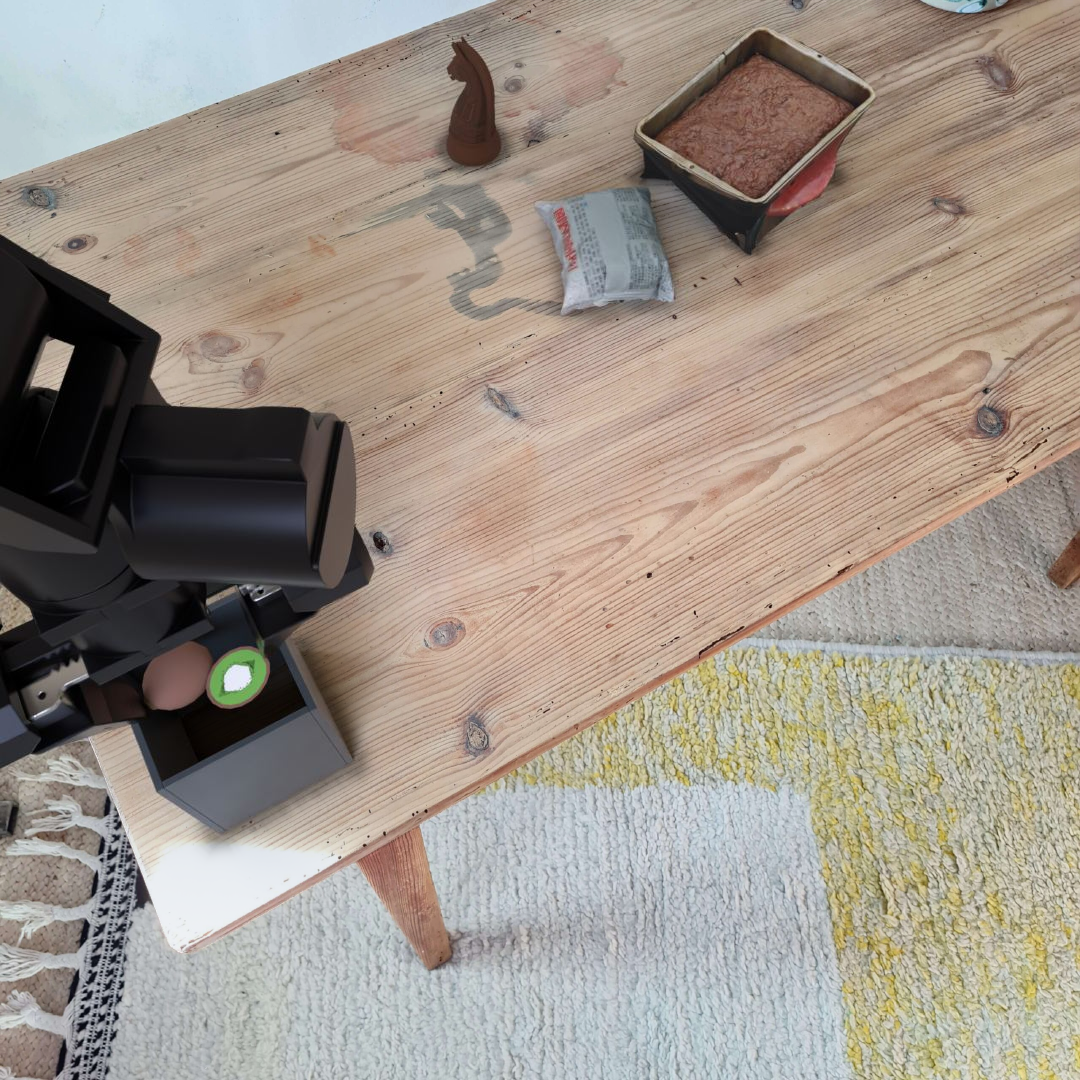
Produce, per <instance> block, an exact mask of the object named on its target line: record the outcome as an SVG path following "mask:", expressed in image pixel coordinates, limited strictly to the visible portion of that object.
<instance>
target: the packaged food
mask: <svg viewBox="0 0 1080 1080" xmlns="http://www.w3.org/2000/svg"><path fill="white" fill-rule="evenodd" d="M651 203H652V194H651V190H650V188H649V187H648V186H631V187H618V188H615V187H611V188H610V187H609V188H605V189H601V190H597V191H590V192H587V193H582V194H579V195H574V196H571V197H566V198H563V199H560V200H558V201H557V200H537V201H535V203H534V207H533V209H534V211H535V212H536V213H537V214H538V216H539V217H540V218H541V219H542V221H543V222H544V223H545V224H546V227H547V228H548V229H549V231H550V235H551V237H552V241H553V246H554V249H555V253H556V257H557V258H558V260H559V263H560V265H561V266H562V269H561V272H560V278H561V284H562V289H563V301H562V307H561V311H560V316H565V315H567V314H568V313H570V312H571V311H573V310H579V311H581V310H584V309H587V308H592V307H593V308H594V307H598V308H600V307H604V306H607V305H608V304H613V303H618V304H619V303H622V304H623V303H625V302H630V301H634V300H642V301H648V300H655V302H658V301H661V302H668V303H669V304H670V303H671V302H674V301H675V300H676V289H675V284H674V280H673V275H672V272H671V268H670V265H669V260H668V258H667V254H666V251H665V248H664V245H663V242H662V239H661V236H660V233H659V231H658V230H659V229H658V224H657V221H656V218H655V215H654V213H653V210H652V208H651V205H652V204H651Z"/></svg>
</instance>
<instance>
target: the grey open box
mask: <svg viewBox="0 0 1080 1080" xmlns="http://www.w3.org/2000/svg"><path fill="white" fill-rule="evenodd" d="M207 605H208V607H209V609H210V612H211V615H210V620H211V622H212V624H213V626H214V628H215V629H213V630H211V631H209V632H207V633H205V634H203V635H201V636H199V637H197V638H195V639H193V640H191V641H189V642H195V643H197V644H200V645H202V646H204V647H206V648H207V649H208V651H209V653H210V655H211V656H212V658H213V660H214V664H215V663H216V662H217V661H218V660H219V659H220V658H221V657H222V656H223V655H225V654H226V653H228V652H229V651H231V650H234V649H236V648H239V647H246V646H251V647H254V648H256V649H259V648H258V646H257V644H256V642H255V640H254V638H253V635H252V633H251V631H250V629H249V627H248V624H247V621H246V619H245V616H244V613H243V610H242V608H241V605H240V602H239V599H238V596H237V594H236V591H234V592H231V593H230V594H228V595H226V596H224V597H222V598H219V599H217V600H216V601H213V602H211V603H209V604H207ZM152 660H153V659H152ZM152 660H150V661H148V662H146V663H144V664H142V665H140V666H138V667H136V668H134V669H132V670H130V671H128V672H126V673H124V674H122V675H120V677H121V678H123V679H124V680H125V681H127V682H128V683H129V684H131V685H132V686H133V687H134V688H135V689H136V690H137V692H138V693H139V694H140V695H141V696H142V697H143V698H144V692H143V687H142V684H143V678H144V674H145V672H146V670H147V668H148V666H149V664H150V662H151V661H152ZM268 661H269V662H270V673H271V672H273V671H275V670H276V669H278V668H280V667H283V666H285V665H287V667H288V669H289V671H290V674H291V675H292V678H293V680H294V681H295V684H296V686H297V688H298V690H299V692H300V694H301V696H302V698H303V700H304V703H305V706H304V707H301V708H299V709H297V710H295V711H294V712H292V713H290V714H288V715H287V716H286V715H285V716H284V717H281V719H279V720H277V721H274V722H273V723H271V724H269V725H267V726H265V727H263V728H261V729H260V730H258V731H255V732H254V733H252V734H250V735H248V736H246V737H245V738H243V739H241V740H239V741H237V742H234V743H233V744H231V745H229V746H227V747H225V748H224V749H221V750H220V751H217V752H216V753H214V754H212V755H210V756H208V757H206V758H204V759H202V760H201V761H198V759H197V756H196V754H195V751H194V749H193V746H192V744H191V741H190V739H189V737H188V735H187V732H186V729H185V727H184V725H183V723H182V720H181V718H183V717H185V716H187V715H189V714H191V713H193V712H195V711H197V710H199V709H201V708H202V707H205V706H207V705H208V704H210V703H212V701H211V700H210V699H209V697H208V695H207V690H206V689H205V691H204V693H203V694H201V695H200V696H199V697H198V698H197V699H196V700H195V701H194V702H192V703H190V704H188V705H186V706H184V707H182V708H178V709H173V710H164V709H155V710H152V709H150V708H149V707H148V708H149V711H150V713H151V718H150V719H148V720H146V721H143V722H140V723H136V724H132V725H130V727H131V730H132V734H133V735H134V738H135V740H136V743H137V745H138V748H139V751H140V754H141V756H142V759H143V761H144V764H145V766H146V769H147V771H148V774H149V777H150V779H151V782H152V785H153V788H154V790H155V792H156V793H157V794H158V795H159V796H161V797H163V798H164V799H165V800H167V801H169V802H170V803H172V804H173V805H174V806H176V807H178V808H179V809H181V810H182V811H184V812H185V813H187V814H188V815H190V816H191V817H193V818H195V819H196V820H197V821H199V822H200V823H202V824H203V825H205V826H206V827H208V828H209V829H211V830H213V831H214V832H215V833H217V834H218V835H222V834H224V833H227V832H228V831H230V830H231V829H232V830H233V828H235V827H237V826H239V825H240V824H242V823H244V822H246V821H248V820H250V819H251V818H253V817H255V816H258V815H259V814H261V813H263V812H265V811H266V810H268V809H270V808H272V807H274V806H275V805H278V804H280V803H281V802H283V801H284V800H287V799H288V798H290V797H292V796H294V795H296V794H297V793H299V792H301V791H303V790H305V789H306V788H309V787H310V786H313V785H314V784H316V783H318V782H319V781H321V780H323V779H324V778H326V777H328V776H330V775H333V774H334V773H336V772H338V771H339V770H342V769H343V768H345V767H347V766H348V765H351V764H353V763H354V758H353V757H352V755H351V752H350V751H349V748H348V747H347V744H346V742H345V740H344V738H343V735H342V734H341V732H340V729H339V728H338V726H337V724H336V722H335V720H334V717H333V715H332V714H331V712H330V710H329V707H328V706H327V703H326V701H325V699H324V698H323V696H322V693H321V691H320V689H319V687H318V684H317V682H316V681H315V679H314V677H313V675H312V673H311V671H310V669H309V667H308V664H307V662H306V661H305V659H304V657H303V655H302V652H301V651H300V649H299V647H298V645H297V644H296V643H295V640H294V639H293V638H292V636H291V635H290V636H289V637H288V638H287V639H286V640H285V642H283V644H282V645H281V646H280V648H279V649H278V650H277V651H276V653H275V654H274V655H273V656H272V657H270V658H268Z"/></svg>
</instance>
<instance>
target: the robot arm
mask: <svg viewBox="0 0 1080 1080" xmlns="http://www.w3.org/2000/svg"><path fill="white" fill-rule="evenodd" d="M111 296H112V294H110V293H109V292H107V291H105V290H104V289H101V288H99V287H97V286H95V285H93V284H90V283H89V282H87V281H84V280H82V279H81V278H78V277H76V276H75V275H73V274H71V273H68V272H66V271H64V270H62V269H61V268H58V267H57V266H54V265H52V264H51V263H48V262H47V260H45V259H43V258H40V257H38V256H36V255H35V254H34V253H31V251H29V250H27V249H25V248H24V247H22V246H20V245H19V244H18V243H16V242H14V241H13V240H11V239H10V238H8V237H6V236H5V235H3V234H2V233H0V585H1V586H3V588H5V589H6V590H7V591H8V592H9V593H11V594H12V595H13V596H14V597H16V598H17V599H18V600H19V601H20V602H21V603H22V604H23V605H25V606H26V607H27V608H28V609H29V611H30V614H31V617H32V619H30V620H28V621H26V622H23V623H21V624H19V625H17V626H15V627H13V628H11V629H8V630H6V631H4V632H2V630H3V628H4V625H3V621H2V619H1V617H0V632H2V633H0V770H1V769H3V768H5V767H7V766H9V765H11V764H13V763H15V762H17V761H20V760H21V759H23V758H26V757H27V756H29V755H33V756H40V755H43V754H45V753H47V752H50V751H51V750H54V749H57V748H59V747H62V746H65V745H68V744H71V743H75V742H77V741H80V740H83V739H84V740H85V739H88V738H91V737H93V736H96V735H100V734H103V733H106V732H111V731H113V730H117V729H121V728H125V727H129V726H131V725H132V724H136V723H140V722H143V721H146V720H148V719H150V718H151V713H150V711H149V708H148V707H147V706H146V704H145V703H144V698H143V697H142V696H141V695H140V694H139V693H138V692H137V690H136V689H135V688H134V687H133V686H132V685H131V684H129V683H128V682H127V681H125V680H124V679H123V678H121V677H120V675H122V674H124V673H126V672H128V671H130V670H132V669H134V668H136V667H138V666H140V665H142V664H144V663H146V662H148V661H150V660H152V659H154V658H156V657H158V656H160V655H162V654H164V653H166V652H168V651H171V650H173V649H175V648H177V647H179V646H181V645H183V644H185V643H187V642H189V641H191V640H193V639H195V638H197V637H199V636H201V635H203V634H205V633H207V632H209V631H211V630H213V629H215V628H214V626H213V624H212V622H211V620H210V615H211V612H210V609H209V607H208V605H209V604H208V603H207V600H208V599H210V598H213V597H214V596H217V595H218V594H219V595H220V593H223V592H225V591H226V590H229V589H230V588H234V592H236V594H237V596H238V599H239V602H240V605H241V608H242V610H243V613H244V616H245V619H246V621H247V624H248V627H249V629H250V631H251V633H252V635H253V638H254V640H255V642H256V644H257V646H258V648H259V650H260V653H261V655H262V657H264V658H266V659H268V658H270V657H272V656H273V655H274V654H275V653H276V651H277V650H278V649H279V648H280V646H281V645H282V644H283V642H285V640H286V639H287V638H288V637H289V636H291V635H292V634H294V633H295V632H296V631H297V630H298V629H299V628H300V627H301V626H302V625H303V624H304V623H306V622H308V621H309V620H312V619H313V618H315V617H316V616H318V615H319V613H320V611H321V609H322V608H324V607H327V606H328V605H330V604H332V603H335V602H336V601H339V600H341V599H342V598H344V597H346V596H348V595H350V594H352V593H355V592H356V591H358V590H360V589H362V588H364V587H367V586H368V585H370V582H371V580H372V577H373V574H374V572H375V570H376V568H375V565H374V563H373V559H372V558H371V554H370V551H369V549H368V548H367V546H366V544H365V542H364V539H363V537H362V535H361V534H360V531H359V530H358V528H357V526H356V525H355V524H356V515H357V514H356V513H357V467H356V466H357V465H356V456H355V448H354V441H353V438H352V433H351V429H350V426H349V423H348V421H347V420H341V419H340V418H339V417H338V416H337V414H336V413H332V412H320V411H319V412H318V411H317V412H316V411H315V412H314V411H310V410H309V409H307V408H304V407H301V406H282V405H281V406H279V405H261V406H252V407H243V408H239V407H238V408H237V407H211V406H210V407H209V406H190V405H189V406H188V405H172V404H170V403H169V402H167V400H166V399H165V398H164V396H163V395H162V394H161V392H160V390H159V388H158V386H157V385H156V383H155V381H154V380H153V378H152V377H151V376H152V374H153V371H154V367H155V363H156V361H157V357H158V355H159V351H160V348H161V344H162V341H163V339H162V336H161V334H160V333H159V332H158V331H156V330H155V329H154V328H152V327H151V326H149V325H147V324H146V323H144V322H142V321H141V320H139V319H137V318H136V317H135V316H133V315H131V314H129V313H128V312H127V311H125V310H123V309H122V308H120V307H118V306H117V305H115V304H113V303H112V302H110V300H111ZM49 338H51V339H54V340H57V341H59V342H61V343H64V344H66V345H67V344H68V345H70V346H73V349H72V352H71V355H70V358H69V361H68V364H67V366H66V369H65V372H64V375H63V377H62V380H61V382H60V383H61V384H60V386H59V389H58V390H57V389H53V388H49V387H43V386H35V385H32V383H33V380H34V377H35V374H36V372H37V369H38V367H39V364H40V362H41V358H42V356H43V353H44V351H45V348H46V345H47V344H48V343H47V342H48V340H49Z"/></svg>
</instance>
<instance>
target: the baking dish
mask: <svg viewBox="0 0 1080 1080" xmlns="http://www.w3.org/2000/svg"><path fill="white" fill-rule="evenodd" d="M876 99H877V94H876V90H875V88H874V87H873V86H872V85H870V84H869V83H868V82H867V81H866V80H865V79H864V78H863V77H862V76H860V75H859V74H857V73H855V72H854V71H853V69H851V68H848V67H846V66H844V65H843V64H841V63H839V62H837V61H836V60H833V59H831V58H829V57H828V56H827V55H825V54H824V53H822V52H820V51H818V50H817V49H815V48H813V47H811V46H808V45H806V44H805V43H804V42H803V41H801V40H797V39H795V38H792V37H790V36H788V35H786V34H784V33H781V32H780V31H777V30H774V29H772V28H771V27H766V26H763V25H758V26H754V25H753V26H752V27H750V28H749V29H748V30H746V31H745V32H743V33H742V34H740V35H739V36H738V37H736V38H735V40H733V43H731V44H730V45H729V46H728V47H727V48H725V50H723V51H722V52H721V53H720V54H719V55H717V56H716V57H715V58H714V59H713V60H712V61H710V62H709V63H708V64H707V65H706V66H705V67H704V68H702V70H700V71H699V72H697V73H696V74H695V75H694V76H693V77H690V79H689V80H687V81H685V83H684V84H682V85H681V86H680V87H679V88H678V89H677V90H676V91H673V93H671V95H669V96H668V97H667V98H666V99H664V101H662V102H661V103H660V104H659V105H657V106H656V107H655V108H653V109H652V110H651V111H650V112H649V113H647V115H645V116H643V118H642V119H640V120H639V121H638V123H637V124H636V126H635V128H634V134H633V140H634V142H635V143H636V144H637V146H638V147H639V148H640V149H641V150H642V156H643V165H644V169H643V172H642V173H641V174H640V175H639V176H638V178H643V179H653V180H662V181H671V183H672V184H674V185H675V187H677V188H678V189H679V190H680V191H681V192H682V193H683V194H684V195H685V197H687V198H688V199H689V200H690V202H692V203H693V204H694V205H695V206H696V207H697V208H698V209H699V210H700V211H701V212H702V213H703V215H705V216H706V217H707V218H708V219H709V220H710V221H711V222H712V224H714V225H715V226H716V227H717V228H718V229H719V231H721V232H722V233H723V234H724V235H725V236H726V237H728V239H730V240H731V241H732V242H733V243H734V244H735V245H736V246H737V247H739V248H740V249H741V250H742V251H743V252H744V253H745V254H746V255H748V256H751V255H752V252H753V251H754V250H755V248H756V247H757V246H758V245H759V244H760V243H761V241H762V240H763V239H764V238H765V237H766V236H767V234H768V233H770V232H771V231H772V230H773V229H775V228H776V227H777V226H778V225H779V224H781V223H782V222H783V221H784V220H786V219H787V218H788V217H789V216H790V215H791V214H793V213H794V212H795V211H796V210H798V209H799V208H801V207H802V208H803V207H805V206H806V205H808V204H809V203H812V202H813V201H815V200H818V199H819V198H820V197H821V196H822V194H823V193H824V191H825V190H826V189H827V187H828V186H829V185H830V184H831V182H832V181H833V180H835V177H836V165H837V158H838V157H837V156H838V154H837V153H838V152H839V150H840V148H841V146H842V144H843V143H844V140H845V139H846V138H847V136H848V135H849V134H850V133H851V131H852V130H853V128H854V127H855V126H856V125H857V124H858V122H859V121H860V120H861V118H862V117H863V116H864V114H865V113H866V112H867V111H868V109H869V108H871V106H872V105H873V104H874V102H875V101H876Z"/></svg>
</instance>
